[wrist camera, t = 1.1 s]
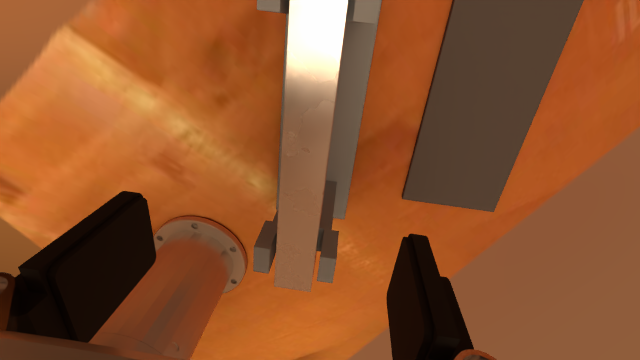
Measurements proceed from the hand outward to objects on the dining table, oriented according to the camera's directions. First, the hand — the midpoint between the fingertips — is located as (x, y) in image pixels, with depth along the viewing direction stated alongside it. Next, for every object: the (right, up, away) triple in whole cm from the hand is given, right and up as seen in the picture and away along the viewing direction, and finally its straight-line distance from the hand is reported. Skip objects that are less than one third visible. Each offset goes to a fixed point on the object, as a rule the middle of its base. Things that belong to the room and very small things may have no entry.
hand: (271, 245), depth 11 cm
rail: (+1, +5, +11) cm, 13 cm away
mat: (+17, +11, +18) cm, 27 cm away
